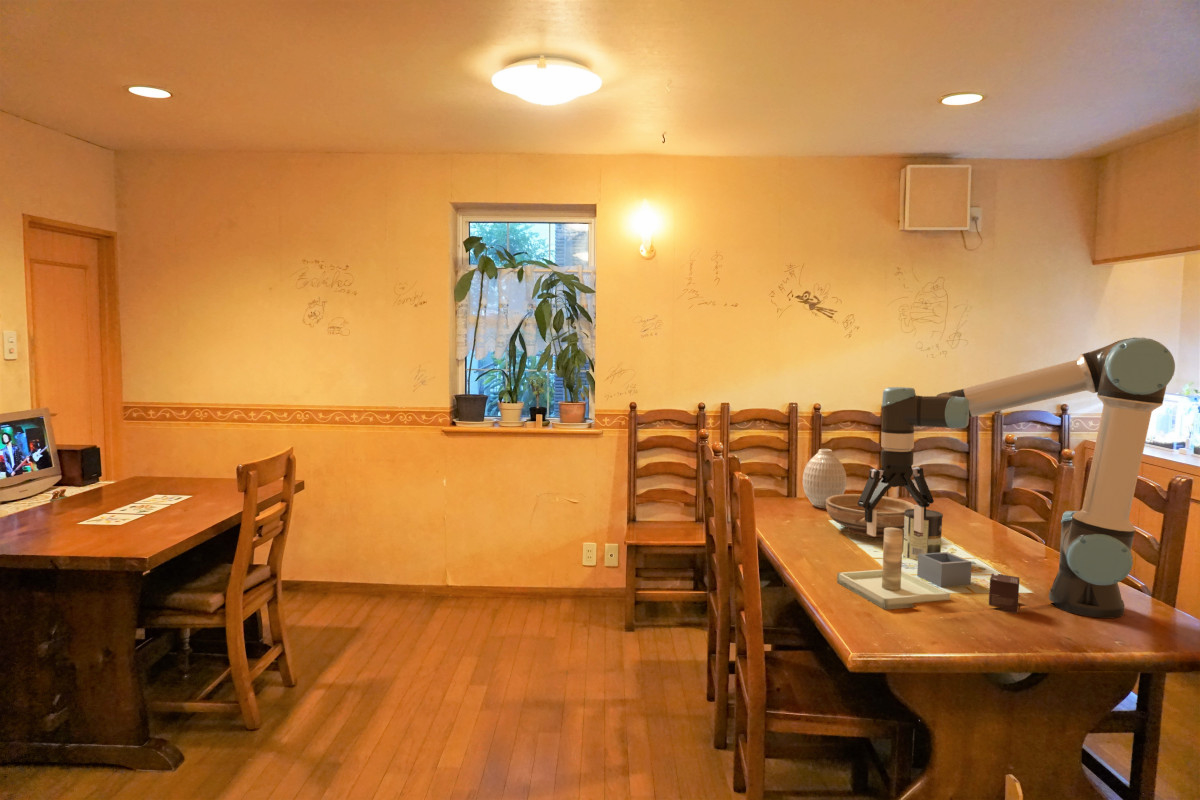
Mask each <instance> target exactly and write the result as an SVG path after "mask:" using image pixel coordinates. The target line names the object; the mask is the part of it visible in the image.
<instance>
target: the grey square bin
mask: <svg viewBox="0 0 1200 800" xmlns="http://www.w3.org/2000/svg"><path fill="white" fill-rule="evenodd" d="M972 563H973V562H972V561H971V560H969V559H966V558H964V557H960V556H958V555H955V554H953V553H950V552H948V551H945V552H943V551H941V552H940V553H925V554H918V561H917V572H916V573H917V574H916V575H917V578H919V579H921V580H923V581H924V580H925V582H928V583H930V584H932V585H934V586H935V585H936V587H938V588H939V587H940V588H947V587H949V588H950V587H958V586H959V587H960V586H970V585H971V582H972V581H971V580H972V566H973V565H972Z"/></svg>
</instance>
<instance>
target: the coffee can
mask: <svg viewBox="0 0 1200 800" xmlns="http://www.w3.org/2000/svg"><path fill="white" fill-rule="evenodd" d="M904 514H905V520H904V528H903V545H902V559H903V558H905V559H906V558H907V559H909V560H913V561H917V562H918V554H925V553H940V552H942V531H943V518H944V515H943V513H942V512H940V511H938V510H937V511H936V510H931V509H926V518H925V519H924V528H923V533H920V532H917V531H914V509H907V510H905V511H904Z"/></svg>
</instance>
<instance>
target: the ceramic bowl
mask: <svg viewBox="0 0 1200 800" xmlns="http://www.w3.org/2000/svg"><path fill="white" fill-rule="evenodd" d="M861 494H862V493H861ZM861 494H860V493H859V494H857V493H849V494H848V493H846V494H845V493H844V494H843V495H835V496H831V497H828V498H827V499H826V508H825V509H826V511H827V513H828V516H829V517H830V518H831V520H833V521H834V522H836V523H837V524H839V525H841V526H843V527H846V528H847V529H848V531H849V532H850V533H852V534H855V535H857V536H862V537H870V538H871V537H872V538H882V537H883V538H884V528H899V529H902V530H904V520H905V514H904V511H905V510H907V509H914V505H915V504H914V503H913V502H910V501H907V500H904V499H901V498H896V497H890V496H884V495H883V497H882V498H881V499H880V501H879V502H878V503H877V505H876V506H875V508H874V510H877V517H876V536H871V535H869V534H867V522H866V521H865V509H864V508H863V507H861V506H858V504H857V503H858V501H859V499H860V496H861Z"/></svg>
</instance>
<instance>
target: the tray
mask: <svg viewBox="0 0 1200 800" xmlns="http://www.w3.org/2000/svg"><path fill="white" fill-rule="evenodd" d="M882 570H883V568H882V569H873V570H872V569H870V570H860V571H859V570H857V571H845V572H844V571H843V572H837V574H836V575H837V576H836V584H839V585H840V586H843V587H844V588H846V589H848V590H849V591H851V592H852V593H855V594H857V595H859V597H862V598H863V599H865V600H867V601H869V602H871V603H872V604H874V605H876V606H878V607H879V608H881V609H883V610H884V611H885V610H886V611H887V610H895V609H898V610H899V609H906V608H907V609H909V608H917V606H916V605H914V604H920V603H921V604H922V603H931V602H943V601H950V599H951V598H950V597H951V593H950V592H948V591H946V590H943V589H941V587H940V588H939V587H938V586H935V585H934V584H932V583H930V582H928V581H926V580H925V581H924V579H921V578H919V577H916V576H914V575H912V574H909V573H907V572H905V571H903V570H901V589H900V590H899V591H889V590H885V589H883V588H882Z"/></svg>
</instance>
